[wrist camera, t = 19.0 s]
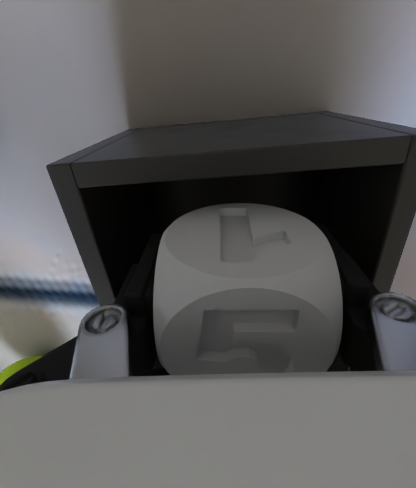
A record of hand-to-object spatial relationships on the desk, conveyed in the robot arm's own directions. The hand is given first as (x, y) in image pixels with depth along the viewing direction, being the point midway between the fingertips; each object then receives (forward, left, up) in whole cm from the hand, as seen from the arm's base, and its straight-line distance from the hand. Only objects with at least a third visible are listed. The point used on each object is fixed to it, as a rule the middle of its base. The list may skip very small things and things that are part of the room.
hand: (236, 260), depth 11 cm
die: (0, 0, -1) cm, 1 cm away
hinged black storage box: (+3, 0, -8) cm, 8 cm away
